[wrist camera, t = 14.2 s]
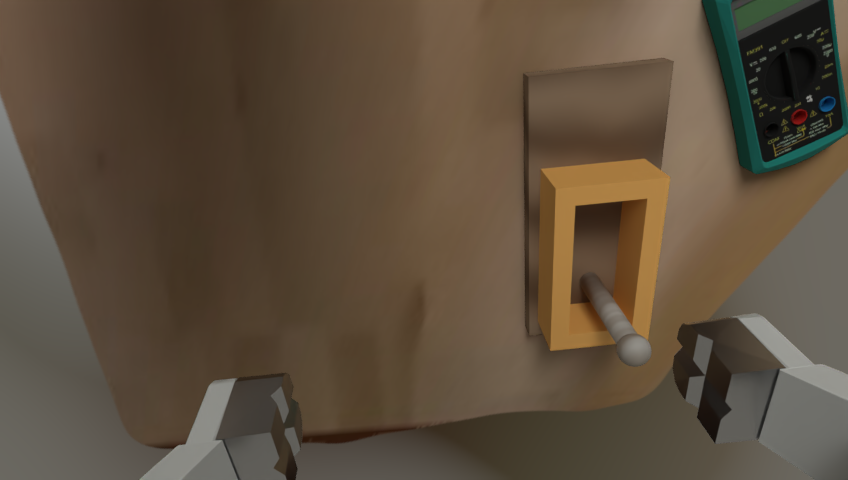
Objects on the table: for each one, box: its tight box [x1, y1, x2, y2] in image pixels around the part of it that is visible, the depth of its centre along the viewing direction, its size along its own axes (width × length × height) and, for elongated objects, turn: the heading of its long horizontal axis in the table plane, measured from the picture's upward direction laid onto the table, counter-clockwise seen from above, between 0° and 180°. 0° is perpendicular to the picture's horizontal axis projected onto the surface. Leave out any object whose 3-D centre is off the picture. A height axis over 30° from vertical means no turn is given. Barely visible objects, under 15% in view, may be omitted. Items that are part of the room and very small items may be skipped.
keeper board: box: [524, 58, 674, 367], centre depth 37 cm, size 22×10×12 cm, turn 5°
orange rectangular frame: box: [538, 159, 670, 351], centre depth 41 cm, size 14×8×4 cm, turn 5°
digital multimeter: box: [702, 0, 848, 174], centre depth 37 cm, size 7×15×3 cm, turn 27°
